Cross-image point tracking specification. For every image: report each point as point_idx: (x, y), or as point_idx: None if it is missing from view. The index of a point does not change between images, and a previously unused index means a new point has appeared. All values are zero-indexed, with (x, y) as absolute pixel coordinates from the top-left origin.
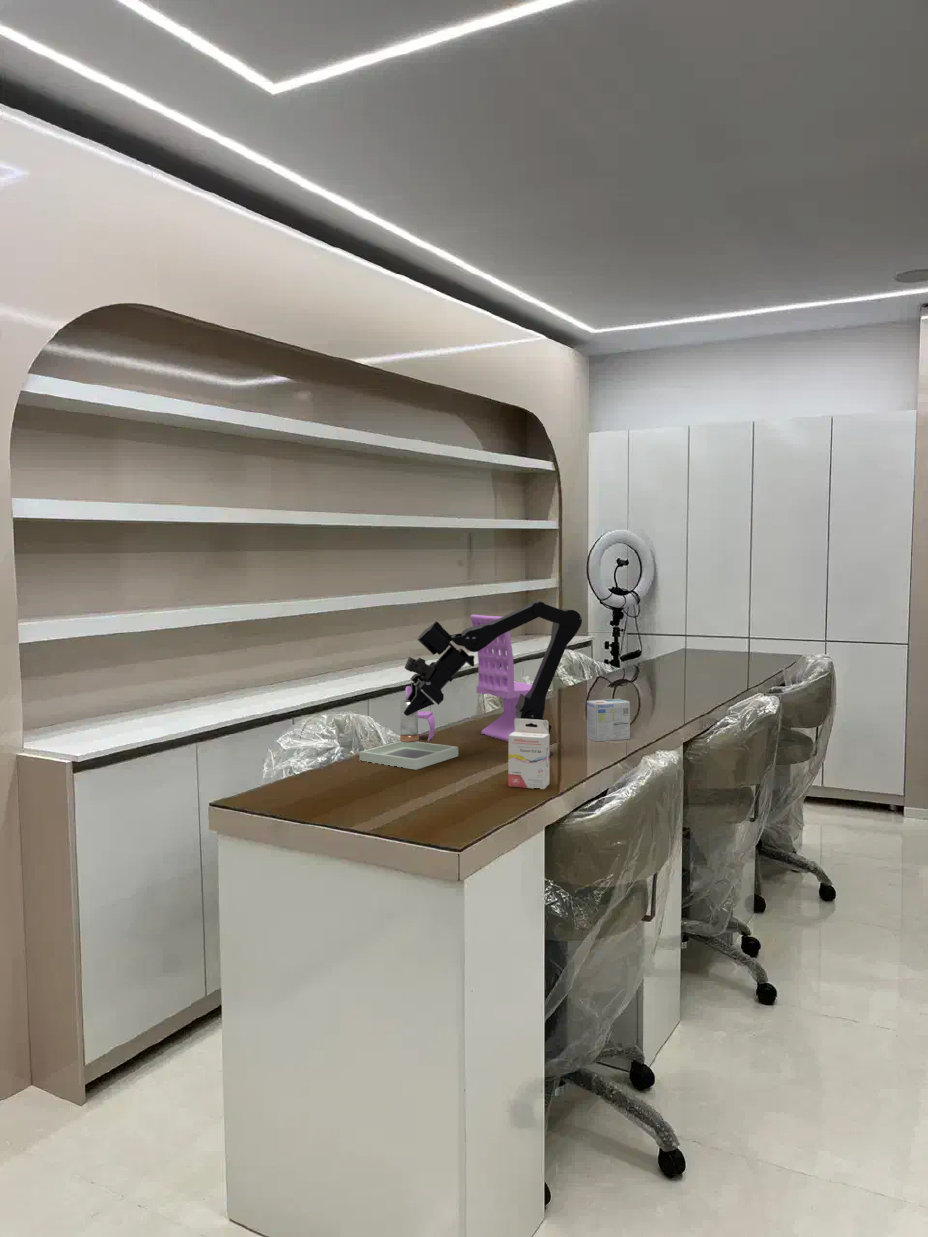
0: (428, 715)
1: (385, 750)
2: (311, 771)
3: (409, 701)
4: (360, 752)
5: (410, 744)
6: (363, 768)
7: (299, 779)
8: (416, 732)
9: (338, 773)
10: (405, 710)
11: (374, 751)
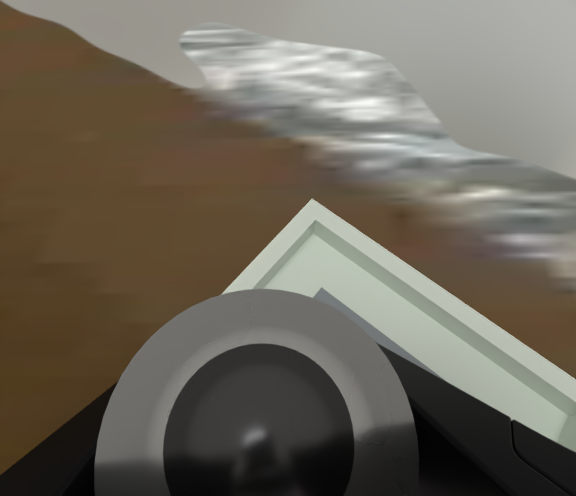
0: None
1: (433, 315)
2: (178, 89)
3: (193, 450)
4: (307, 203)
5: None
6: (178, 234)
7: (79, 66)
8: None
9: (122, 158)
10: (113, 385)
11: (367, 262)
